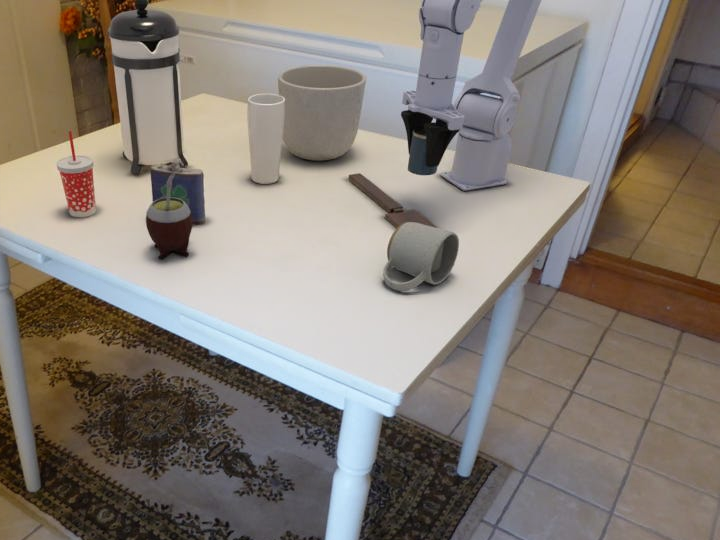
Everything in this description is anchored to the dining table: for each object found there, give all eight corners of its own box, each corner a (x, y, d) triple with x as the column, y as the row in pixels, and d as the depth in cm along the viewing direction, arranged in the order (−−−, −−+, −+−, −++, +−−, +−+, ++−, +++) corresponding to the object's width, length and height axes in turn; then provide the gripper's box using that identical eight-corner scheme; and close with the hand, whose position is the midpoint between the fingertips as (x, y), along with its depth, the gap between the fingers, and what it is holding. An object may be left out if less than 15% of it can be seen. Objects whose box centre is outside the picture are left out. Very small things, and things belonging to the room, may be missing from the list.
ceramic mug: (407, 255, 106) (414, 209, 101) (455, 273, 101) (464, 225, 96) (368, 282, 100) (373, 234, 95) (416, 302, 95) (424, 253, 90)
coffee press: (209, 156, 139) (203, -8, 121) (161, 183, 129) (147, 7, 111) (143, 141, 147) (128, -16, 129) (93, 165, 136) (69, -3, 118)
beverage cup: (66, 204, 121) (53, 126, 113) (101, 203, 122) (90, 124, 113) (62, 220, 116) (48, 138, 108) (99, 218, 117) (87, 137, 108)
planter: (261, 158, 138) (261, 80, 129) (300, 134, 150) (303, 60, 140) (337, 175, 131) (343, 93, 122) (371, 148, 143) (380, 71, 133)
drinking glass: (279, 188, 127) (282, 105, 117) (244, 185, 128) (244, 103, 119) (285, 174, 132) (288, 94, 123) (251, 171, 133) (251, 92, 124)
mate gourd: (166, 237, 111) (159, 146, 102) (206, 248, 108) (203, 156, 99) (138, 256, 106) (128, 163, 97) (180, 269, 103) (173, 173, 94)
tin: (426, 163, 117) (433, 124, 113) (442, 173, 113) (449, 134, 109) (401, 166, 115) (407, 128, 112) (417, 177, 112) (423, 138, 108)
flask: (207, 219, 116) (204, 158, 110) (202, 226, 114) (198, 164, 108) (156, 213, 118) (151, 153, 112) (150, 220, 116) (144, 159, 110)
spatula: (366, 176, 130) (367, 171, 130) (440, 234, 111) (441, 228, 111) (340, 180, 129) (340, 175, 128) (410, 239, 110) (411, 234, 109)
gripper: (390, 65, 109) (380, 148, 118) (441, 89, 99) (426, 179, 107) (429, 61, 111) (416, 143, 119) (482, 84, 100) (464, 173, 109)
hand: (423, 160), depth 113 cm, fingers closed on tin, 5 cm apart
